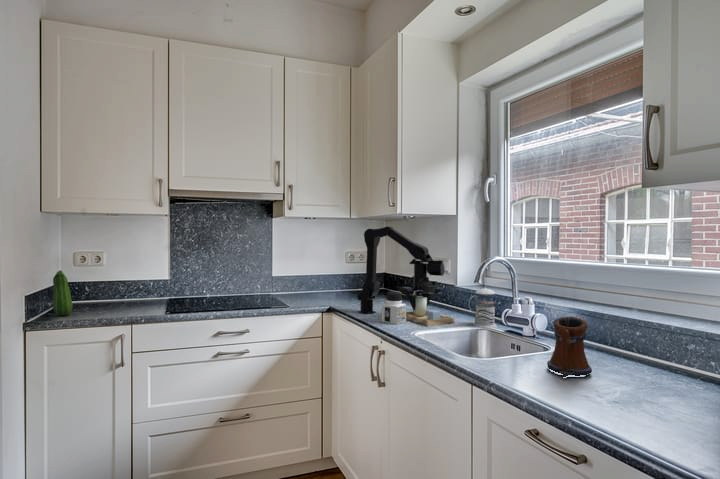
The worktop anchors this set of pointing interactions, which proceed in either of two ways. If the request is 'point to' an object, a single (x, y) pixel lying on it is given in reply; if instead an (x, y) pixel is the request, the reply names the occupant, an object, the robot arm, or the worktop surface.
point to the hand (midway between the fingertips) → (419, 309)
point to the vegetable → (61, 295)
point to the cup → (420, 305)
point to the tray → (423, 320)
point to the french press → (485, 306)
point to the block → (433, 315)
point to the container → (394, 309)
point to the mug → (569, 347)
